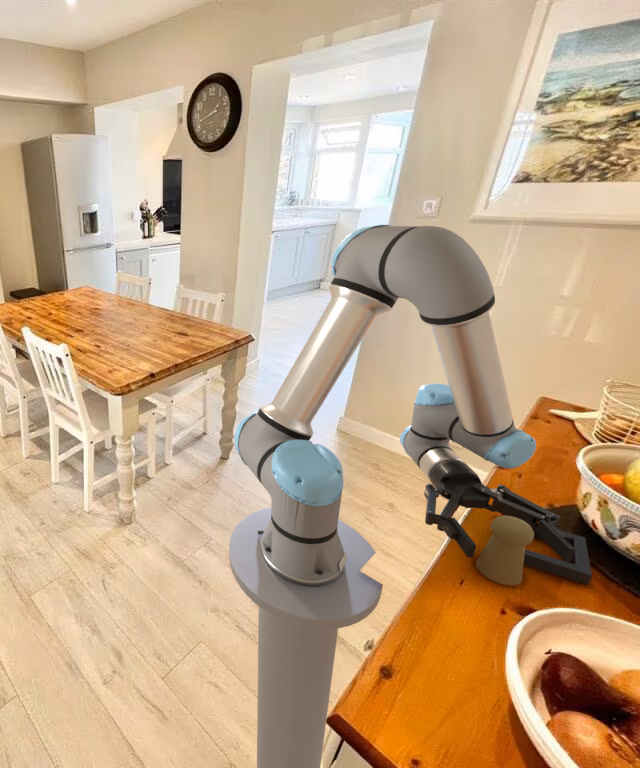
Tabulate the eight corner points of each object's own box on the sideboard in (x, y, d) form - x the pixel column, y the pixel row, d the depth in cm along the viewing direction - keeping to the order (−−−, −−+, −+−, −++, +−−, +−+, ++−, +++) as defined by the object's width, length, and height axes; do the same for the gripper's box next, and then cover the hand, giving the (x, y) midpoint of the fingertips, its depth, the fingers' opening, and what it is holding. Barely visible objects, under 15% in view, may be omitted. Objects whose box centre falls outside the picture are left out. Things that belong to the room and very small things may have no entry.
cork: (470, 569, 71) (485, 522, 67) (482, 551, 74) (497, 504, 70) (515, 592, 67) (534, 542, 62) (526, 571, 70) (544, 522, 65)
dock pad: (506, 558, 72) (509, 549, 72) (507, 524, 79) (509, 516, 78) (588, 585, 66) (592, 575, 65) (581, 546, 73) (585, 537, 72)
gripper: (514, 489, 83) (605, 574, 64) (381, 487, 88) (429, 566, 69) (523, 459, 80) (622, 539, 61) (386, 459, 85) (437, 533, 66)
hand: (520, 553), depth 65 cm, fingers open, 13 cm apart
